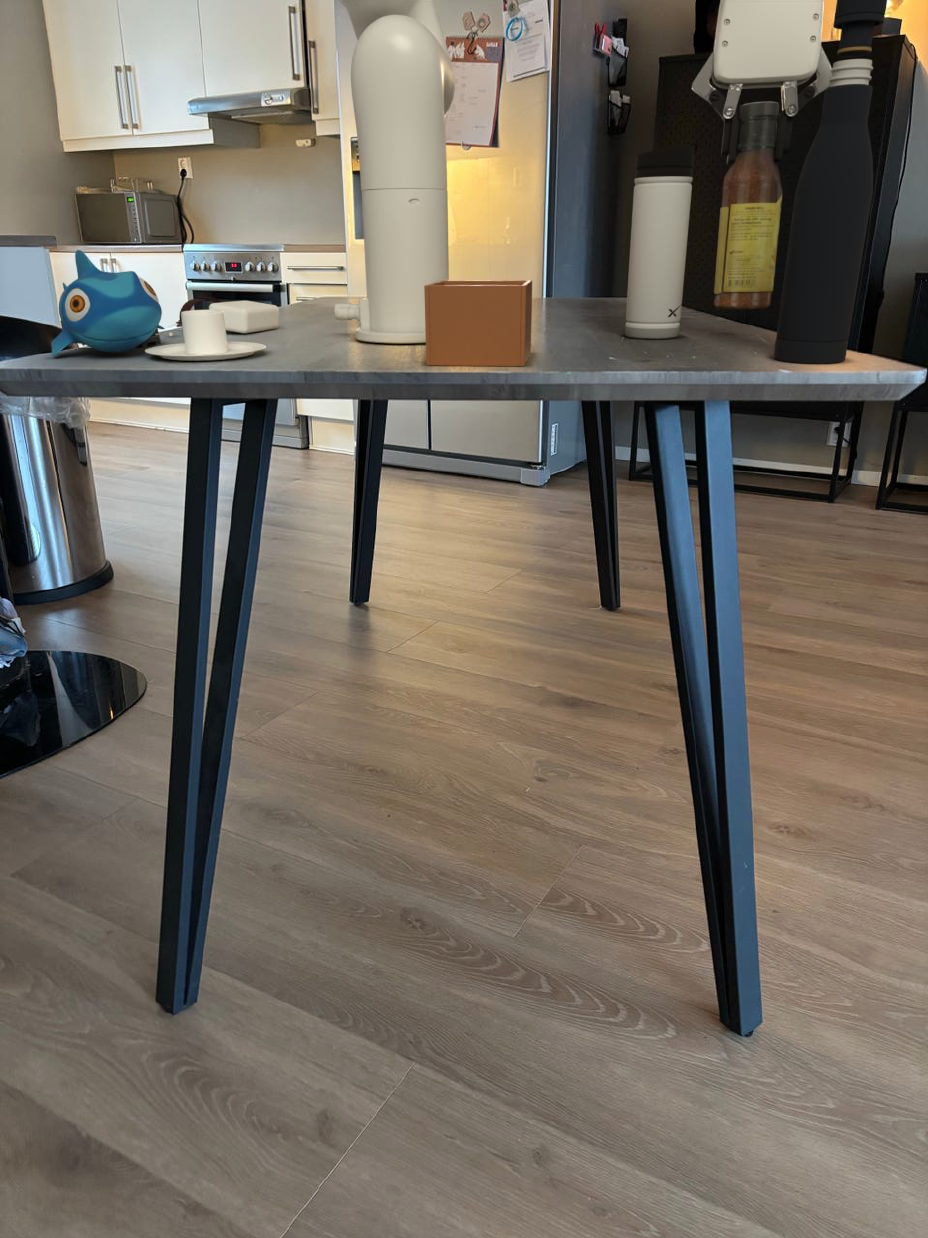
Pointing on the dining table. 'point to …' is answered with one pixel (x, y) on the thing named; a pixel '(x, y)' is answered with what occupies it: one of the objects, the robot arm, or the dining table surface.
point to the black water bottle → (832, 204)
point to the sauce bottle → (750, 214)
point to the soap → (248, 316)
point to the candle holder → (205, 340)
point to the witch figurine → (177, 326)
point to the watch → (191, 303)
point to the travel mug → (659, 242)
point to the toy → (106, 309)
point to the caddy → (478, 322)
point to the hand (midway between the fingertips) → (753, 160)
